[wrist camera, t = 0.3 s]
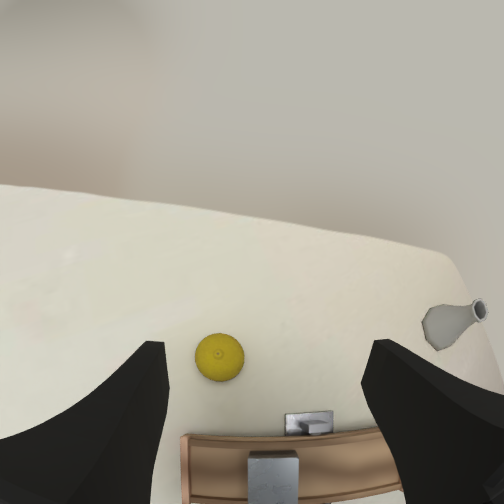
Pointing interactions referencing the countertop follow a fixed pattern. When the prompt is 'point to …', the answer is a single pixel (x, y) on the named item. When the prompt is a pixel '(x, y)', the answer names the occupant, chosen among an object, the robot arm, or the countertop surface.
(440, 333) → the flask
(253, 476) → the steel block
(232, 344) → the lemon
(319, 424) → the pivot stand
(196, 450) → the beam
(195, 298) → the countertop surface
